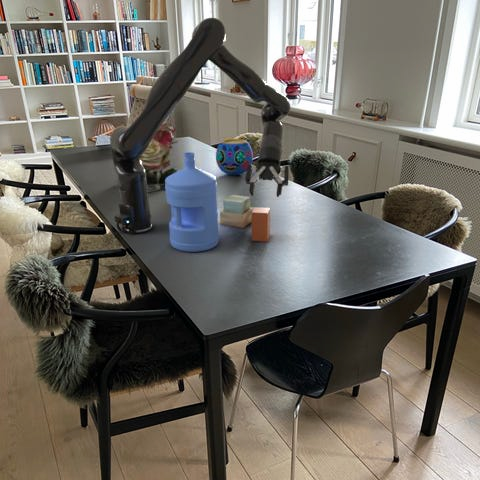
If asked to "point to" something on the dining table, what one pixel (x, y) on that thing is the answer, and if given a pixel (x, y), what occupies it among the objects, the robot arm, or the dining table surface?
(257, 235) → the tall block
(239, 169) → the ceramic pot
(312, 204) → the dining table surface
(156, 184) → the rose bouquet
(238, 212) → the stack
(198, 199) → the water jug
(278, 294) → the dining table surface
